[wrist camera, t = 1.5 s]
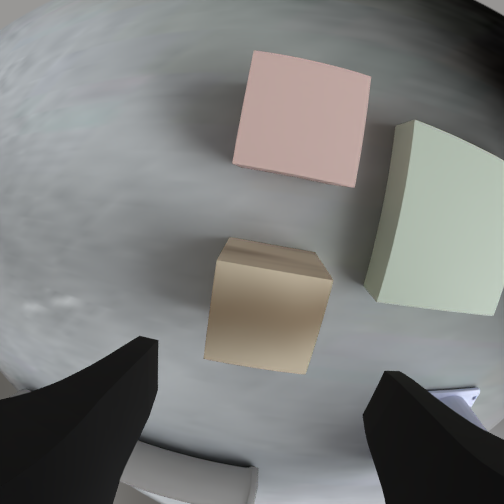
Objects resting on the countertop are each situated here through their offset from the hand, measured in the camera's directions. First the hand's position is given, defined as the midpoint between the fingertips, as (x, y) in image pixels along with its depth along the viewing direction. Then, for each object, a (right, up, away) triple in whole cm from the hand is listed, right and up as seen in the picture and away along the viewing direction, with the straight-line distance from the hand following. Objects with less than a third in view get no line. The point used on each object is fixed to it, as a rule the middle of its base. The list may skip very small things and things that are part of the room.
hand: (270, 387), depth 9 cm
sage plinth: (+12, +6, +8) cm, 16 cm away
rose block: (+2, +11, +7) cm, 13 cm away
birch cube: (0, +2, +9) cm, 10 cm away
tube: (-13, -14, +14) cm, 24 cm away
